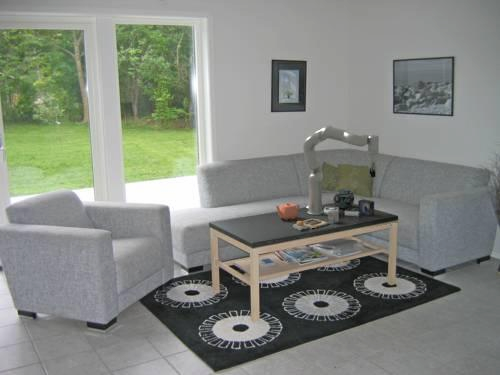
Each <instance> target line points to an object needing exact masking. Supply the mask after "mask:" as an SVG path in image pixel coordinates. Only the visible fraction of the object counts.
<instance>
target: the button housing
mask: <svg viewBox="0 0 500 375" xmlns="http://www.w3.org/2000/svg"><path fill="white" fill-rule="evenodd" d="M293 228H295V229H298V230H302V229H306V228H308V225H306V224H304V226H297V224H296V223H295V224H292V229H293ZM295 229H294V230H295ZM308 229H309V228H308ZM298 230H297V231H298ZM306 230H307V229H306Z"/></svg>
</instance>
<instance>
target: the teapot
mask: <svg viewBox="0 0 500 375" xmlns="http://www.w3.org/2000/svg"><path fill="white" fill-rule="evenodd" d="M275 208H277V209H276V210H277V213H278V216H279V217H280V218H281V219H282V218H283V220H284V221H285V220H288V221H289V219H291V220H293V219H295V220H296V218H298V215H299V213H298V210H299V209H300V204H294V203H291V202H286V203H284V204H280V206H279V205H275Z"/></svg>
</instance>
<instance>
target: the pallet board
mask: <svg viewBox="0 0 500 375" xmlns="http://www.w3.org/2000/svg"><path fill="white" fill-rule="evenodd" d="M302 221H303V224H306V225H308V229H309V228H311V229H310V230H313V229H312V228H315V229H318V228H322V227H324V226H325V227H326V226H329V225H330V223H329V222H328V221H323V220H321V219H316V218H314V217H313V218H309V219H306V220H302ZM295 224H297V222H296V223H295ZM328 224H329V225H328ZM321 226H322V227H321ZM317 227H318V228H317Z"/></svg>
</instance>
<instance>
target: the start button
mask: <svg viewBox="0 0 500 375" xmlns="http://www.w3.org/2000/svg"><path fill="white" fill-rule="evenodd" d="M303 221H304V220H297V221H296V223H297V226H304V224H303Z"/></svg>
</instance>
